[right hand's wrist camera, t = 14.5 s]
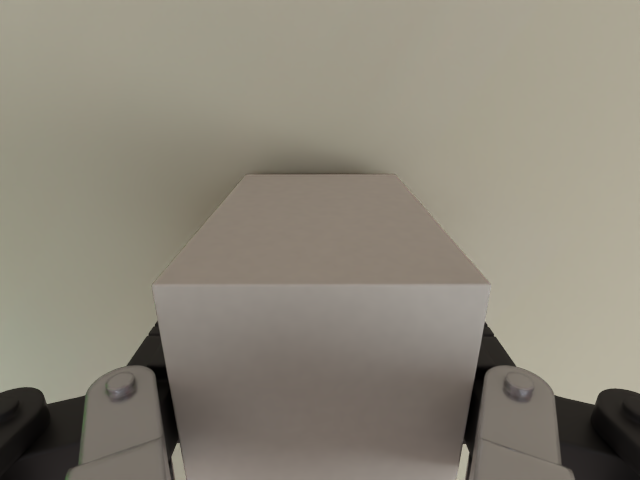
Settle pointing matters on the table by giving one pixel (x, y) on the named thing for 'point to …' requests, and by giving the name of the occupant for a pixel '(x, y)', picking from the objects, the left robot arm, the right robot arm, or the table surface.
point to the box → (321, 334)
